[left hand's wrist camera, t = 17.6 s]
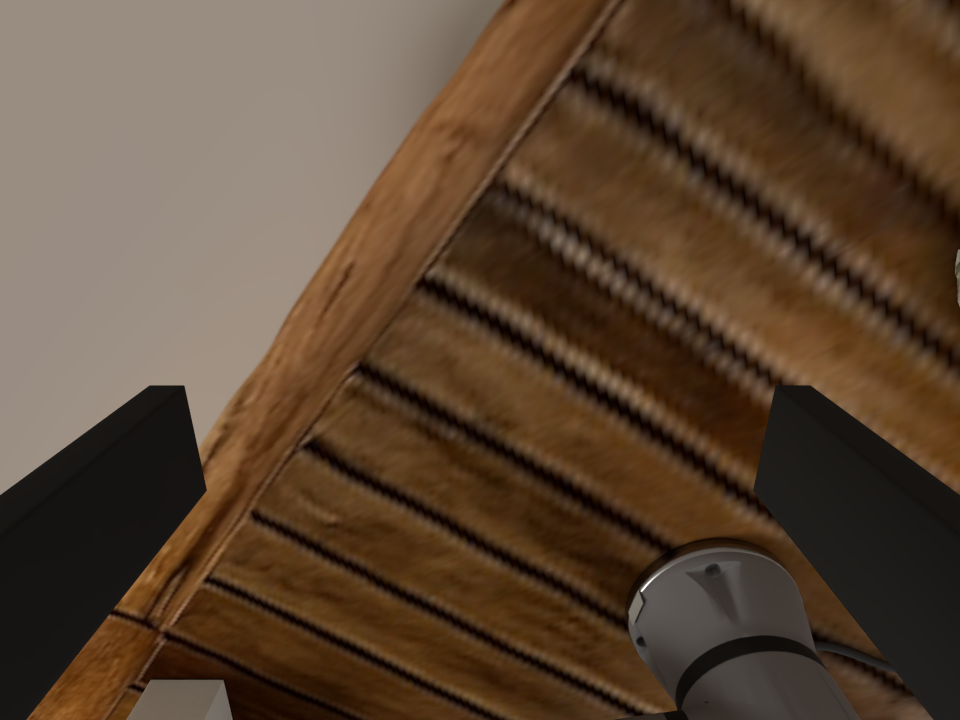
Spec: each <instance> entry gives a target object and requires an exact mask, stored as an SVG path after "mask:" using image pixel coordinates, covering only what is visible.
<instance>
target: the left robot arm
mask: <svg viewBox="0 0 960 720" xmlns="http://www.w3.org/2000/svg"><path fill="white" fill-rule="evenodd" d="M206 491H207V489H206V484H205V480H204V475H203V471H202V466H201V461H200V457H199V452H198V447H197V443H196V438H195V433H194V429H193V424H192V419H191V415H190V410H189V405H188V401H187V396H186V391H185V387H184V386H148V387H147V388H146V389H144V390H143V391H142V392H140V393H139V394H138V395H136V396H135V397H133V398H132V399H131V400H129V401H128V402H127V403H125V404H124V405H123V406H121V407H120V408H118V409H117V410H116V411H114V412H113V413H112V414H110V415H109V416H108V417H106V418H105V419H103V420H102V421H101V422H99V423H98V424H97V425H95V426H94V427H93V428H91V429H90V430H88V431H87V432H86V433H84V434H83V435H82V436H80V437H79V438H78V439H76V440H75V441H74V442H72V443H71V444H69V445H68V446H67V447H65V448H64V449H63V450H61V451H60V452H58V453H57V454H56V455H54V456H53V457H52V458H50V459H49V460H48V461H46V462H45V463H43V464H42V465H41V466H39V467H38V468H37V469H35V470H34V471H33V472H31V473H30V474H28V475H27V476H26V477H24V478H23V479H22V480H20V481H19V482H18V483H16V484H15V485H14V486H12V487H11V488H9V489H8V490H7V491H5V492H4V493H3V494H1V495H0V720H26V719H27V718H28V717H29V716H30V714H31V713H32V712H33V711H34V709H35V708H36V707H37V705H38V704H39V703H40V702H41V700H42V699H43V698H44V697H45V695H46V694H47V693H48V692H49V690H50V689H51V688H52V686H53V685H54V684H55V683H56V681H57V680H58V679H59V678H60V676H61V675H62V674H63V672H64V671H65V670H66V669H67V667H68V666H69V665H70V664H71V662H72V661H73V660H74V658H75V657H76V656H77V655H78V653H79V652H80V651H81V650H82V648H83V647H84V646H85V645H86V643H87V642H88V641H89V639H90V638H91V637H92V636H93V634H94V633H95V632H96V631H97V629H98V628H99V627H100V625H101V624H102V623H103V622H104V620H105V619H106V618H107V617H108V615H109V614H110V613H111V611H112V610H113V609H114V608H115V606H116V605H117V604H118V603H119V601H120V600H121V599H122V597H123V596H124V595H125V594H126V592H127V591H128V590H129V589H130V587H131V586H132V585H133V584H134V582H135V581H136V580H137V578H138V577H139V576H140V575H141V573H142V572H143V571H144V570H145V568H146V567H147V566H148V564H149V563H150V562H151V561H152V559H153V558H154V557H155V556H156V554H157V553H158V552H159V550H160V549H161V548H162V547H163V545H164V544H165V543H166V542H167V540H168V539H169V538H170V537H171V535H172V534H173V533H174V531H175V530H176V529H177V528H178V526H179V525H180V524H181V523H182V521H183V520H184V519H185V517H186V516H187V515H188V514H189V512H190V511H191V510H192V509H193V507H194V506H195V505H196V503H197V502H198V501H199V500H200V498H201V497H202V496H203V495H204V493H205V492H206ZM753 491H754V492H755V493H756V495H757V496H758V497H759V498H760V500H761V501H762V502H763V503H764V505H765V506H766V507H767V509H768V510H769V511H770V512H771V514H772V515H773V516H774V517H775V519H776V520H777V521H778V523H779V524H780V525H781V526H782V528H783V529H784V530H785V531H786V533H787V534H788V535H789V537H790V538H791V539H792V540H793V542H794V543H795V544H796V545H797V547H798V548H799V549H800V550H801V552H802V553H803V554H804V556H805V557H806V558H807V559H808V561H809V562H810V563H811V564H812V566H813V567H814V568H815V570H816V571H817V572H818V573H819V575H820V576H821V577H822V578H823V580H824V581H825V582H826V584H827V585H828V586H829V587H830V589H831V590H832V591H833V592H834V594H835V595H836V596H837V597H838V599H839V600H840V601H841V603H842V604H843V605H844V606H845V608H846V609H847V610H848V611H849V613H850V614H851V615H852V617H853V618H854V619H855V620H856V622H857V623H858V624H859V625H860V627H861V628H862V629H863V631H864V632H865V633H866V634H867V636H868V637H869V638H870V639H871V641H872V642H873V643H874V645H875V646H876V647H877V648H878V650H879V651H880V652H881V653H882V655H883V656H884V657H885V658H886V660H887V661H888V662H886V661H883V660H880V659H877V658H874V657H872V656H869V655H866V654H864V653H861V652H859V651H856V650H853V649H851V648H848V647H845V646H841V645H838V644H834V643H829V642H821V641H813V638H812V634H811V631H810V627H809V623H808V620H807V616H806V613H805V609H804V604H803V600H802V597H801V594H800V592H799V590H798V587H797V585H796V583H795V581H794V580H793V578H792V577H791V575H790V574H789V573H788V571H787V570H786V569H785V567H784V566H783V565H782V563H781V562H780V561H779V560H778V559H777V558H776V557H775V556H773V555H772V554H771V553H769V552H768V551H766V550H765V549H763V548H761V547H758V546H756V545H753V544H750V543H747V542H743V541H737V540H728V539H715V540H706V541H700V542H695V543H691V544H688V545H685V546H682V547H679V548H677V549H675V550H673V551H671V552H668V553H667V554H665V555H663V556H662V557H660V558H659V559H657V560H656V561H654V562H653V563H652V564H651V565H650V566H648V567H647V568H646V569H645V570H644V571H643V572H642V574H641V575H640V576H639V577H638V578H637V580H636V581H635V583H634V584H633V586H632V588H631V590H630V593H629V595H628V598H627V602H626V610H625V615H626V622H627V626H628V630H629V633H630V636H631V639H632V642H633V644H634V646H635V648H636V650H637V652H638V654H639V655H640V657H641V658H642V660H643V661H644V662H645V664H646V665H647V666H648V668H649V669H650V670H651V672H652V673H653V674H654V676H655V677H656V678H657V680H658V681H659V682H660V684H661V685H662V686H663V688H664V689H665V690H666V692H667V693H668V694H669V696H670V697H671V698H672V700H673V701H674V702H675V704H676V707H677V710H678V711H671V712H665V713H656V714H649V715H642V716H636V717H629V718H623V719H616V720H861V719H860V718H859V716H858V715H857V713H856V712H855V710H854V709H853V708H852V706H851V705H850V703H849V702H848V700H847V699H846V697H845V696H844V694H843V693H842V691H841V690H840V688H839V687H838V685H837V684H836V682H835V681H834V679H833V678H832V676H831V675H830V674H829V672H828V670H827V669H826V667H825V666H824V664H823V663H822V661H821V660H820V658H819V657H818V655H817V653H816V650H823V651H830V652H835V653H839V654H842V655H845V656H848V657H851V658H854V659H857V660H859V661H862V662H864V663H867V664H869V665H872V666H875V667H878V668H881V669H884V670H887V671H891V672H895V673H897V674H898V675H899V676H900V678H901V679H902V680H903V681H904V683H905V684H906V685H907V686H908V688H909V689H910V690H911V692H912V693H913V694H914V695H915V697H916V698H917V699H918V700H919V702H920V703H921V704H922V705H923V707H924V708H925V709H926V711H927V712H928V713H929V714H930V716H931V717H932V718H933V719H934V720H960V495H959V494H957V493H956V492H955V491H953V490H952V489H951V488H949V487H948V486H947V485H945V484H944V483H942V482H941V481H940V480H938V479H937V478H936V477H934V476H933V475H932V474H930V473H929V472H927V471H926V470H925V469H923V468H922V467H921V466H919V465H918V464H917V463H915V462H914V461H912V460H911V459H910V458H908V457H907V456H906V455H904V454H903V453H902V452H900V451H899V450H897V449H896V448H895V447H893V446H892V445H891V444H889V443H888V442H887V441H885V440H884V439H882V438H881V437H880V436H878V435H877V434H876V433H874V432H873V431H872V430H870V429H869V428H867V427H866V426H865V425H863V424H862V423H861V422H859V421H858V420H857V419H855V418H854V417H852V416H851V415H850V414H848V413H847V412H846V411H844V410H843V409H842V408H840V407H839V406H837V405H836V404H835V403H833V402H832V401H831V400H829V399H828V398H827V397H825V396H824V395H822V394H821V393H820V392H818V391H817V390H816V389H814V388H813V387H812V386H776V387H775V391H774V396H773V401H772V405H771V410H770V415H769V419H768V424H767V429H766V433H765V438H764V443H763V447H762V452H761V457H760V461H759V466H758V471H757V475H756V480H755V484H754V489H753Z"/></svg>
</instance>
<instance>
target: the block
mask: <svg viewBox="0 0 960 720" xmlns="http://www.w3.org/2000/svg"><path fill="white" fill-rule="evenodd" d="M127 720H233V719H232V714H231V710H230V706H229V702H228V697H227V693H226V689H225V685H224V680H151V681H150V682H149V684H148V686H147V687H146V689H145V690H144V692H143V694H142V695H141V697H140V699H139V700H138V702H137V703H136V705H135V707H134V708H133V710H132V712H131V713H130V715H129V717H128V718H127Z"/></svg>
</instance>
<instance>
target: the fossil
mask: <svg viewBox="0 0 960 720" xmlns="http://www.w3.org/2000/svg"><path fill="white" fill-rule="evenodd" d="M955 274H956V277H957V283H958V303H959V306H960V250H958V253H957V259H956V266H955Z"/></svg>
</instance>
